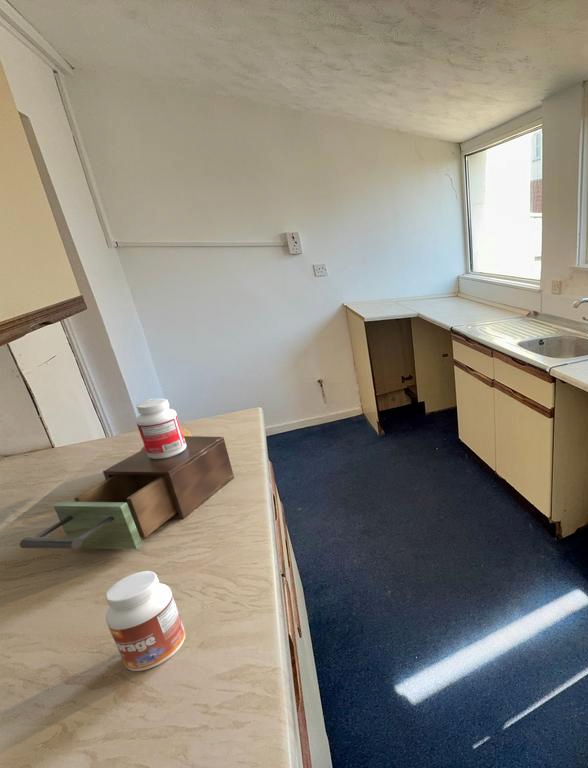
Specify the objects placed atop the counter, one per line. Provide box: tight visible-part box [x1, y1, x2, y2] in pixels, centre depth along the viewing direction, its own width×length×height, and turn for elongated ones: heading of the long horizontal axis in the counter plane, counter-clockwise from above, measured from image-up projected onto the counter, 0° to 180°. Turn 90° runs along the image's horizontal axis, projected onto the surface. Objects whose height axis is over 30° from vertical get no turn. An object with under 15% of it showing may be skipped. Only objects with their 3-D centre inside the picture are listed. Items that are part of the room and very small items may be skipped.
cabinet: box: [102, 435, 235, 520], centre depth 83 cm, size 15×13×11 cm
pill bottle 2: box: [105, 570, 186, 672], centre depth 51 cm, size 6×6×11 cm
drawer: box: [19, 475, 178, 550], centre depth 70 cm, size 20×11×9 cm, turn 179°
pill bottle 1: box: [135, 397, 186, 459], centre depth 79 cm, size 6×6×11 cm
